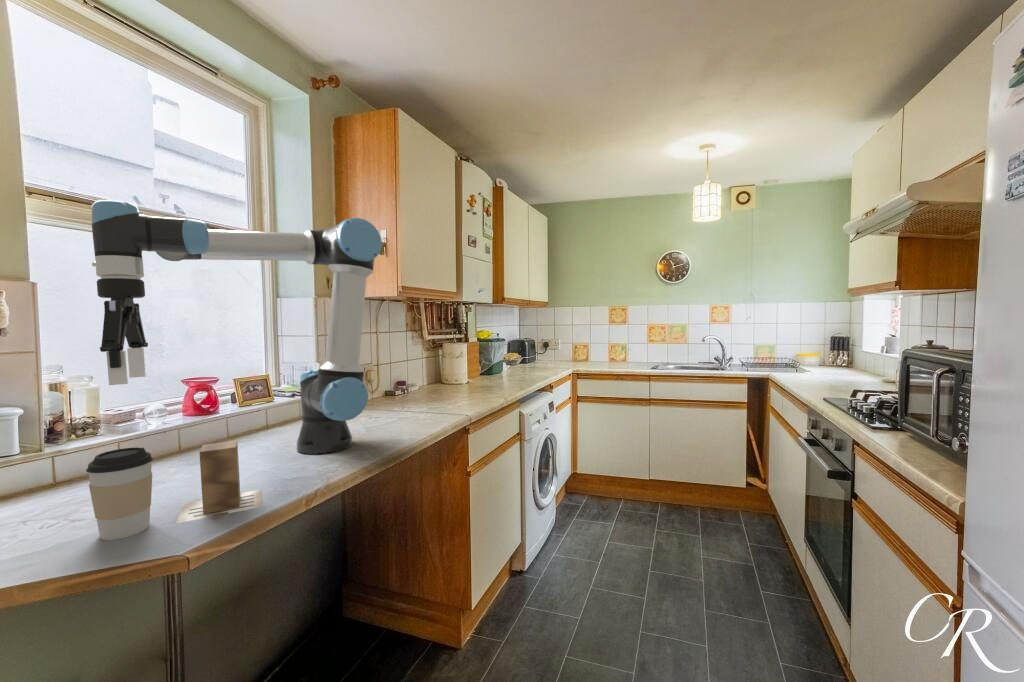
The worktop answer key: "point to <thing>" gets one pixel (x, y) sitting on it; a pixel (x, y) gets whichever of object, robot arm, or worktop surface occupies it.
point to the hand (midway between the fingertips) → (128, 380)
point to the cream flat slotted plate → (196, 510)
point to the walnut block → (220, 476)
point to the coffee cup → (121, 491)
